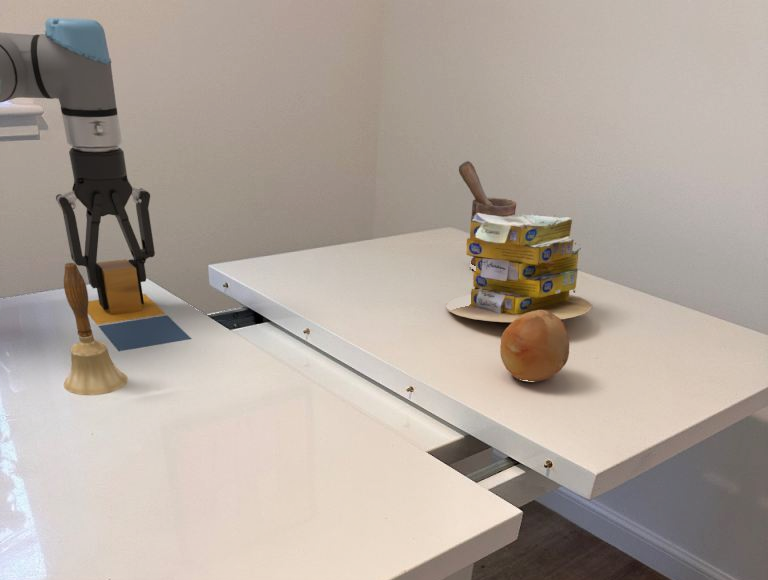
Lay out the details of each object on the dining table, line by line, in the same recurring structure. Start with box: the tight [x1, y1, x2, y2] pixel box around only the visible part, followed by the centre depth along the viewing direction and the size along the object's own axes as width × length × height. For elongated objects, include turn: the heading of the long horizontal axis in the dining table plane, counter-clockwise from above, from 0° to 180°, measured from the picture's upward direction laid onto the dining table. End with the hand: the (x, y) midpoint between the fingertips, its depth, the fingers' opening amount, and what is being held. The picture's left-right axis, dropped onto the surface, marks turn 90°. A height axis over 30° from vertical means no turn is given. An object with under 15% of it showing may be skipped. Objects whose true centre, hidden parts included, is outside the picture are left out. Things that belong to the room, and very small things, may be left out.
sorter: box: [88, 293, 192, 352], centre depth 114 cm, size 23×11×1 cm, turn 33°
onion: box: [499, 310, 570, 382], centre depth 102 cm, size 10×10×10 cm
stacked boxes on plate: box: [447, 211, 593, 323], centre depth 122 cm, size 25×25×17 cm
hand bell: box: [63, 262, 129, 396], centre depth 91 cm, size 8×8×16 cm
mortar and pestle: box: [458, 160, 517, 266], centre depth 142 cm, size 12×9×20 cm
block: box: [96, 258, 142, 315], centre depth 116 cm, size 5×5×7 cm
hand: (121, 303), depth 118 cm, fingers closed on block, 5 cm apart
